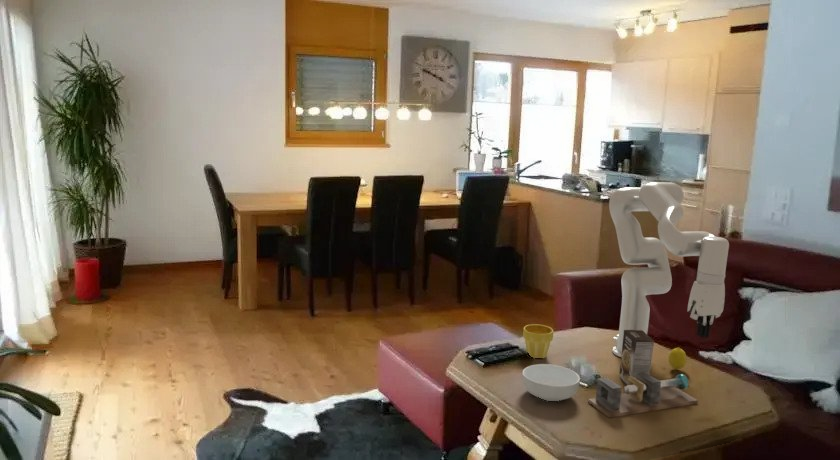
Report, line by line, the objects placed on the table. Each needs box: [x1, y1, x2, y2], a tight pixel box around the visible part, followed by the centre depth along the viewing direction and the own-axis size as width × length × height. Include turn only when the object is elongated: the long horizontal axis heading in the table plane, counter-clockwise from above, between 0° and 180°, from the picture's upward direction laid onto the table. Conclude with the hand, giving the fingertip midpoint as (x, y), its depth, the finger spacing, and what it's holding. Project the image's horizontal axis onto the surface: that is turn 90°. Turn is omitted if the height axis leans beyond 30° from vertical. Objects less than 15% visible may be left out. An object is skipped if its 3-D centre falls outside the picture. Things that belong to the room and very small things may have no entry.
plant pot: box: [522, 323, 554, 359], centre depth 224 cm, size 10×10×10 cm
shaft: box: [623, 373, 690, 394], centre depth 192 cm, size 21×4×4 cm, turn 111°
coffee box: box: [618, 330, 655, 386], centre depth 205 cm, size 9×6×16 cm
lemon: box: [668, 346, 687, 371], centre depth 217 cm, size 6×6×8 cm
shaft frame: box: [587, 372, 699, 419], centre depth 191 cm, size 32×10×8 cm, turn 111°
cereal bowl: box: [521, 363, 581, 402], centre depth 193 cm, size 17×17×7 cm
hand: (702, 336), depth 195 cm, fingers closed
